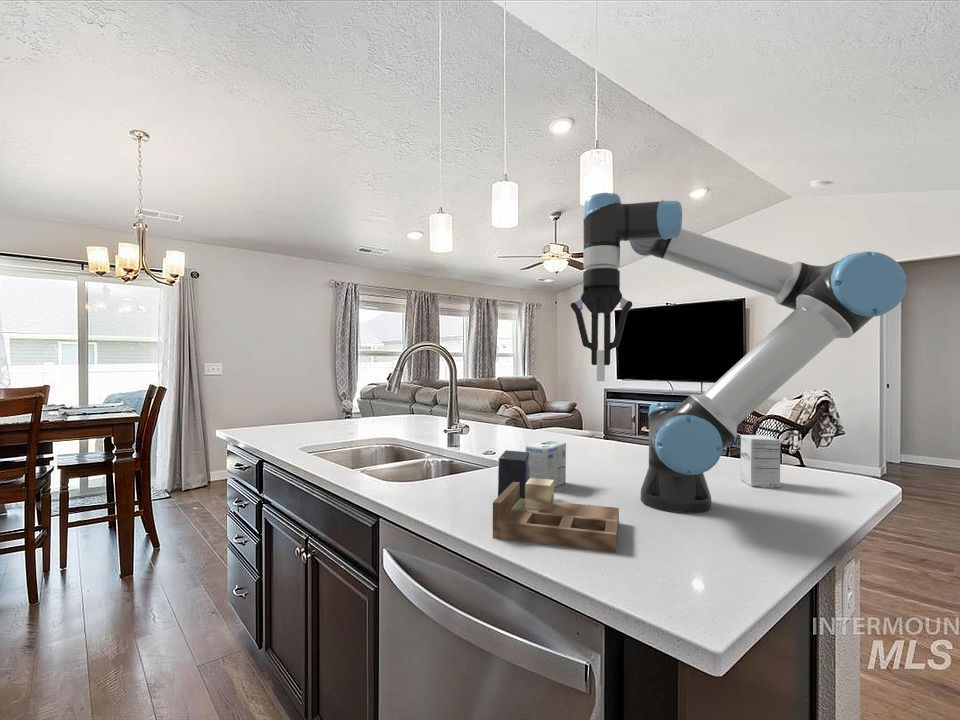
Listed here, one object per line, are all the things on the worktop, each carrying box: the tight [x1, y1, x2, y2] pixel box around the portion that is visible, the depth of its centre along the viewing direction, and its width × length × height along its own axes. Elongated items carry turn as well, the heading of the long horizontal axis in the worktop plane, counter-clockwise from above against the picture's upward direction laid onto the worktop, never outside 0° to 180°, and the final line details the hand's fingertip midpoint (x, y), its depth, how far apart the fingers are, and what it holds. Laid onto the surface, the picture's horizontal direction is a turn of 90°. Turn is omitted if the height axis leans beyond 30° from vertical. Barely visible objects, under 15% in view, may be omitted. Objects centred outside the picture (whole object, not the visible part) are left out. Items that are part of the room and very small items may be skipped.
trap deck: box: [492, 482, 620, 553], centre depth 95 cm, size 22×16×6 cm
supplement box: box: [739, 434, 781, 488], centre depth 131 cm, size 7×7×13 cm
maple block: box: [525, 478, 555, 511], centre depth 100 cm, size 5×5×5 cm
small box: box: [497, 450, 530, 499], centre depth 116 cm, size 11×6×10 cm, turn 168°
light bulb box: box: [525, 440, 567, 488], centre depth 129 cm, size 11×7×11 cm, turn 144°
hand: (600, 380), depth 105 cm, fingers closed
